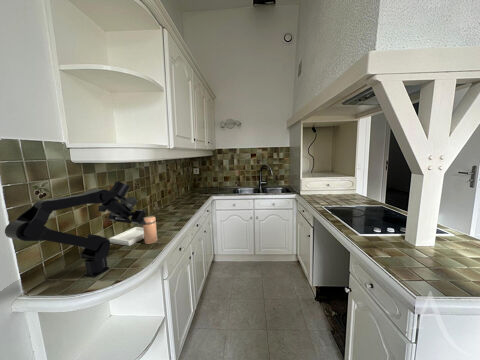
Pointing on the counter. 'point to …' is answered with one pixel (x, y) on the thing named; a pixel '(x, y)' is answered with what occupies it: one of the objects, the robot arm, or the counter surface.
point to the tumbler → (150, 230)
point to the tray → (128, 237)
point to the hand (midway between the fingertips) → (138, 223)
